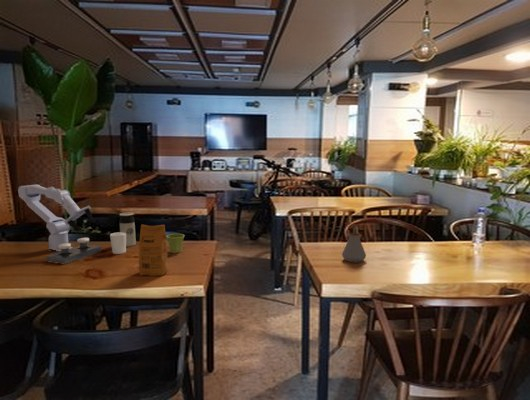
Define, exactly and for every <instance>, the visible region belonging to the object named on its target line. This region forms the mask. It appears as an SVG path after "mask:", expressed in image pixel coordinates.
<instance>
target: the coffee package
mask: <svg viewBox="0 0 530 400" xmlns="http://www.w3.org/2000/svg"><path fill="white" fill-rule="evenodd" d="M139 232H140V233H139V243H138V267H139V276H151V277H159V276H164V275H165V274H166V273H167V272H168V270H169V263H168V262H169V261H168V239H167V237H166V236H167V233H166V225H165V224H159V225H147V224H141V225H140V231H139Z"/></svg>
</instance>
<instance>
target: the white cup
mask: <svg viewBox="0 0 530 400" xmlns="http://www.w3.org/2000/svg"><path fill="white" fill-rule="evenodd" d="M109 238H110V245H111V251H112V254H114V255H121V254H122V255H123V254H125V253H126V252H127V247H126V233H124V232H120V231H118V232H113V233H110V235H109Z"/></svg>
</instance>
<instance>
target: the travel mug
mask: <svg viewBox="0 0 530 400" xmlns="http://www.w3.org/2000/svg"><path fill="white" fill-rule="evenodd" d="M134 215H135V214H134V212H122V213H119V216H120V218H119V222H118V223H119V232H124V233H126V248H127V247H134V246H135V245H136V244H137V240H136V225H135V218H134Z"/></svg>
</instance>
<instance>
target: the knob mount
mask: <svg viewBox="0 0 530 400" xmlns="http://www.w3.org/2000/svg"><path fill="white" fill-rule="evenodd" d="M87 246H88V248H87V249H80V245H77V246H73V248H70V249H69V255H61V252H60V251H56V252H55V253H51V254H49V255H46V256H45V259H46V262H47V261H52V262H58V263H64V264H63V265H67V264H66V263H68V264H70V263H69V262H71V263H73V262H72V261H74V262H76V261H79V260H82V259H85V258H87V257H90V256H93V255H95V254H99V253H101V252H102V245H94V244H87ZM75 260H76V261H75ZM58 263H57V264H58Z"/></svg>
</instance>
